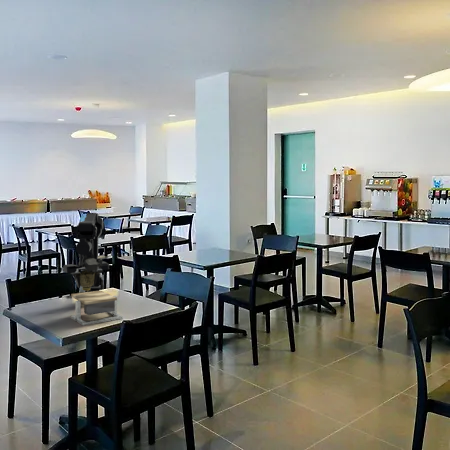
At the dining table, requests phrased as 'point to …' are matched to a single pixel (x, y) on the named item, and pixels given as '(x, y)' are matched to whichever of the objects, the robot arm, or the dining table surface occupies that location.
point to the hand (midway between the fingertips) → (86, 286)
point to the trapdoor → (96, 302)
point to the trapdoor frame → (78, 319)
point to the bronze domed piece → (86, 280)
